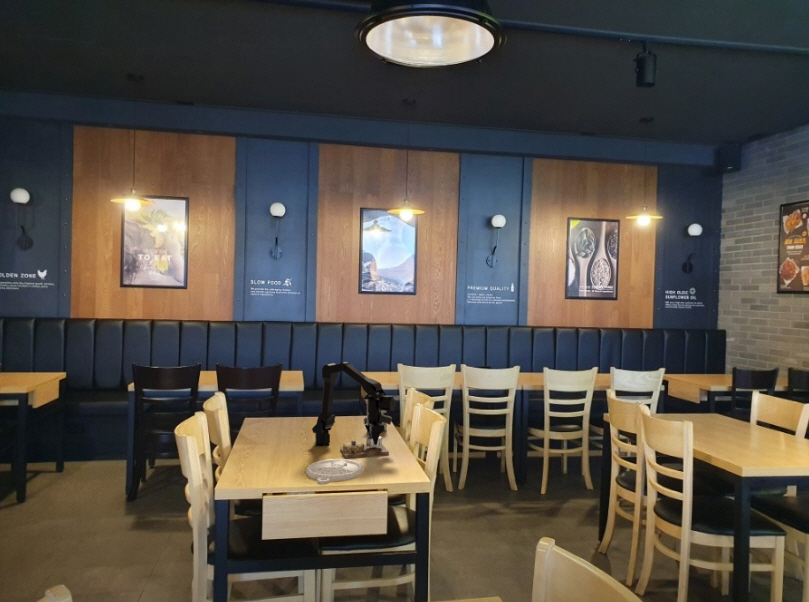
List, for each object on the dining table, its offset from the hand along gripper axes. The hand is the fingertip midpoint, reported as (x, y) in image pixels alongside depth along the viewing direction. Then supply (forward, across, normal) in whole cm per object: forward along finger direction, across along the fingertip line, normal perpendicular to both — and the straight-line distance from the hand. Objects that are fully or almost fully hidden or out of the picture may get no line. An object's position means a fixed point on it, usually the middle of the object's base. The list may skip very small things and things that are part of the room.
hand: (373, 442), depth 265 cm
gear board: (+4, 0, +5) cm, 6 cm away
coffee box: (+4, +40, -10) cm, 42 cm away
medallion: (+5, -26, +23) cm, 35 cm away
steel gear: (+1, 0, 0) cm, 1 cm away
